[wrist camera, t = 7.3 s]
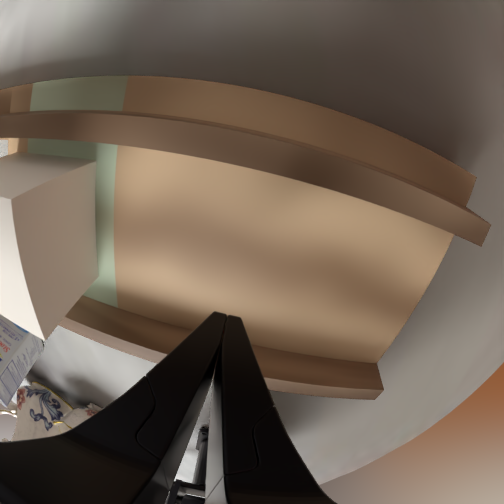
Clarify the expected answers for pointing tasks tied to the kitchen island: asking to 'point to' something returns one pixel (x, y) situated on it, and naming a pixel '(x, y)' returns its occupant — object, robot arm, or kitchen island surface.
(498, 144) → the kitchen island surface
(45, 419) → the chinaware
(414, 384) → the kitchen island surface
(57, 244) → the cream block
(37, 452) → the robot arm
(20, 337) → the medicine box
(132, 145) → the light wood shallow tray
